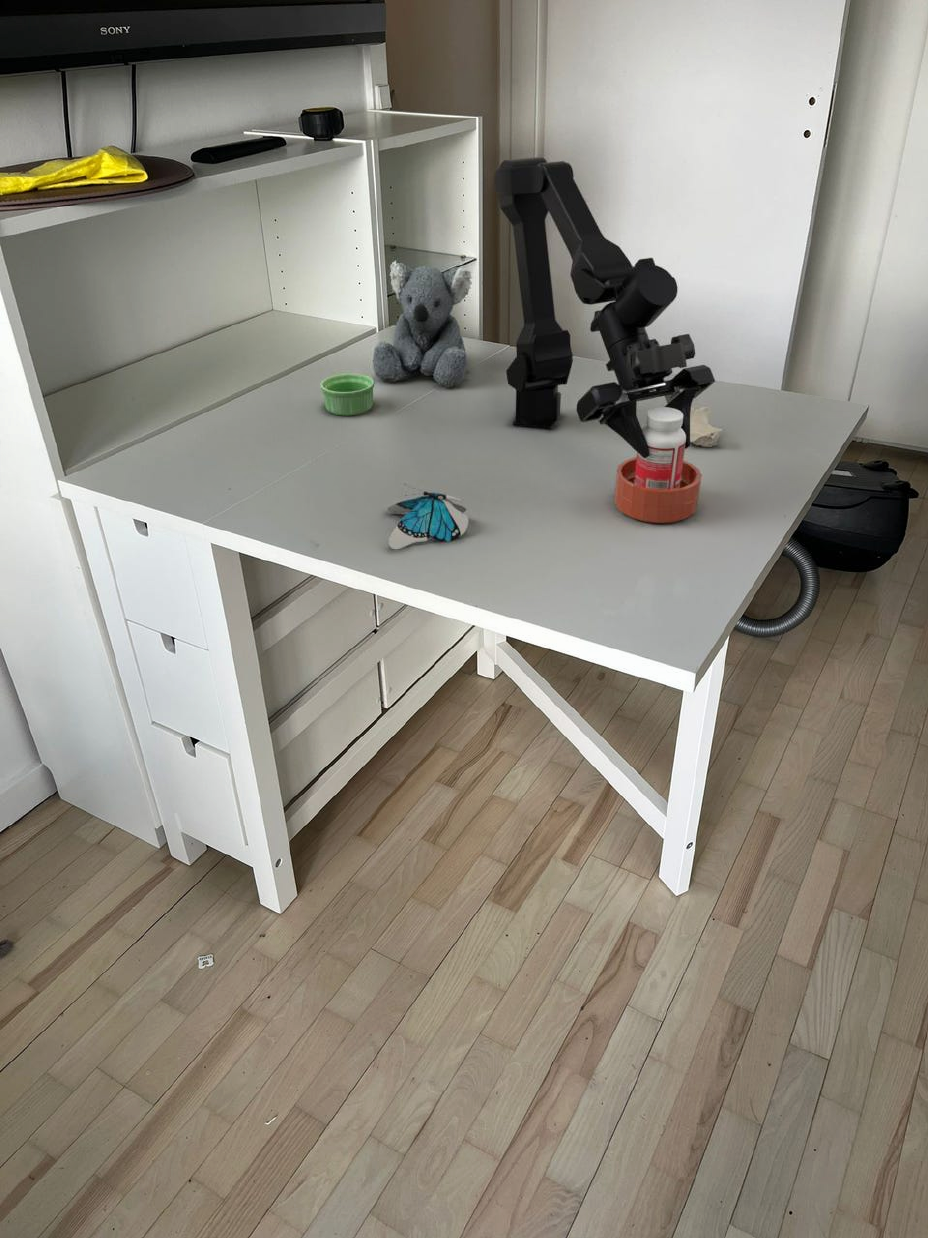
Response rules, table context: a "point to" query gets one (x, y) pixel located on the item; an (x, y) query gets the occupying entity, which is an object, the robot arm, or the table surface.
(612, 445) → the table surface
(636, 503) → the bowl
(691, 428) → the coral
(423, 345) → the koala plush
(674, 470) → the pill bottle
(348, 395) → the ramekin
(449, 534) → the decorative butterfly
